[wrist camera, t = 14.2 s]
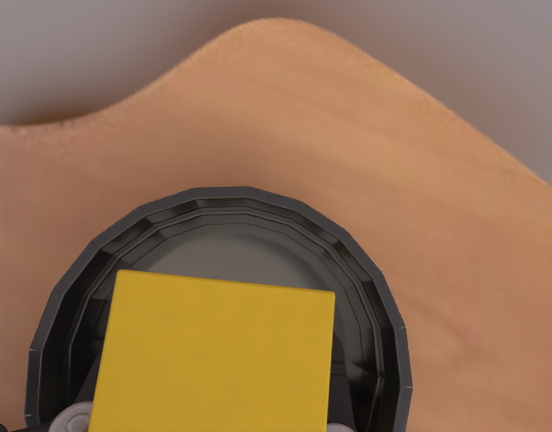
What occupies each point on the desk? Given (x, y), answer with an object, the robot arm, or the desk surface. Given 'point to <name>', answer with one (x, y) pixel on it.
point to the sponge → (213, 356)
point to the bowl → (234, 267)
